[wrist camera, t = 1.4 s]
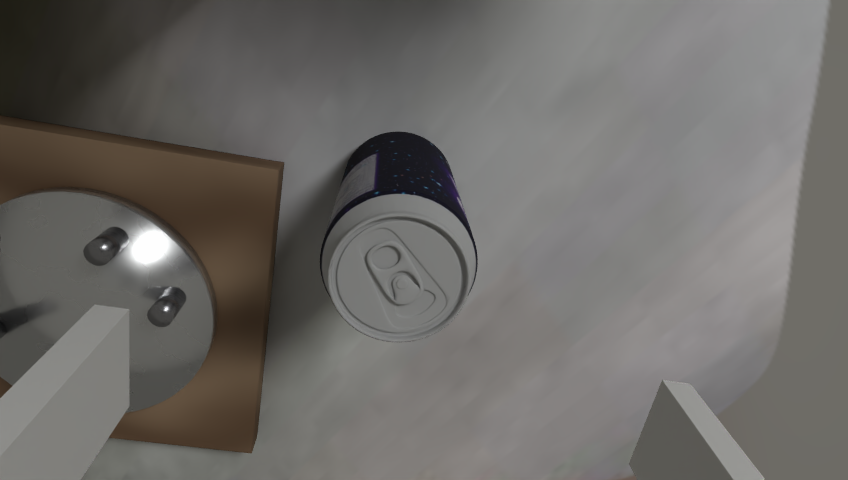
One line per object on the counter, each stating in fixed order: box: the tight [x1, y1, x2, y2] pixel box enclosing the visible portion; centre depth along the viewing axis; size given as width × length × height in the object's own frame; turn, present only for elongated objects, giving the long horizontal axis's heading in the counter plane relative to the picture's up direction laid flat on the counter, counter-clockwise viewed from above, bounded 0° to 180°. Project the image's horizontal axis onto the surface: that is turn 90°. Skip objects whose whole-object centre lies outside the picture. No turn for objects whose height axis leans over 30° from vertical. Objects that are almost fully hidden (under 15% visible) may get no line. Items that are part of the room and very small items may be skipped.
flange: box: [0, 187, 218, 413], centre depth 30 cm, size 13×13×3 cm
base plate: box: [0, 115, 284, 453], centre depth 32 cm, size 18×18×2 cm
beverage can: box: [320, 132, 477, 342], centre depth 25 cm, size 6×6×12 cm
